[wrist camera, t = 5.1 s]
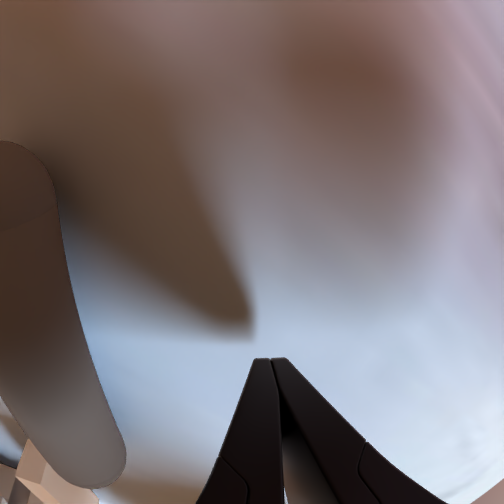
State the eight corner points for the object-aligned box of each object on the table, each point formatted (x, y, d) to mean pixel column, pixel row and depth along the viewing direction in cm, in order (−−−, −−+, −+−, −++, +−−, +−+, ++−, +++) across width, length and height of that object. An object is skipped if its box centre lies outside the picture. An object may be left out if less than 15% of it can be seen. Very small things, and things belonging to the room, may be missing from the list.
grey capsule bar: (139, 443, 11) (130, 507, 8) (72, 433, 11) (55, 491, 8) (75, 125, 6) (-8, 142, 3) (-19, 141, 6) (-101, 168, 3)
